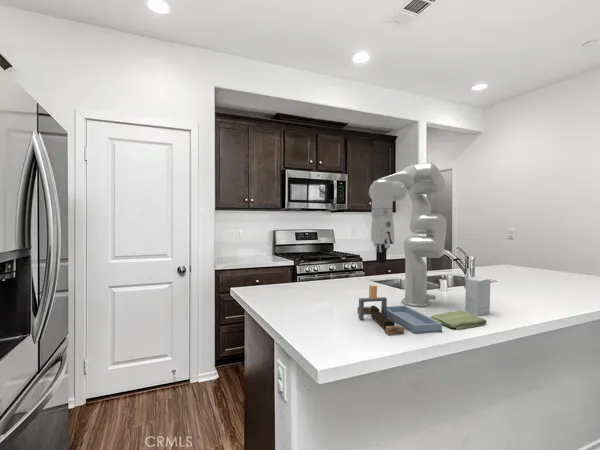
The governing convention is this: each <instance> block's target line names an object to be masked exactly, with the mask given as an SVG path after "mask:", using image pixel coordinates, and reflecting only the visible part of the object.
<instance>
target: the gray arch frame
mask: <svg viewBox="0 0 600 450" xmlns="http://www.w3.org/2000/svg"><path fill="white" fill-rule="evenodd" d="M387 301H388V298H387V297H385V296H382V297H380V296H379V297H378V286H377V285H376V284H371V285H368V297H360V298H358V307H359V314H358V319H359V320H364V317H365V316H364V315H365V314H364V307H365V304H364V303H368V302H373V303H374V302H381V307H382V308H381V307H380V312H381V313H382V314H383V315H384V316H386V317H387V306H388V302H387Z"/></svg>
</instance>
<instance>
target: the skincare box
mask: <svg viewBox="0 0 600 450" xmlns="http://www.w3.org/2000/svg"><path fill="white" fill-rule="evenodd" d="M464 301H465V307H464V312H467V313H469V314H471V315H475V316H477V317H480V316H482V315H483V316H484V315H487V314H490V310H491V308H490V306H491V305H490V303H491V279H490V278H487V277H481V276H475V277H474V276H473V277H470V278H469V277H468V278H465V300H464Z"/></svg>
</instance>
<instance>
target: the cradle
mask: <svg viewBox="0 0 600 450" xmlns="http://www.w3.org/2000/svg"><path fill="white" fill-rule="evenodd" d="M357 314H358V315H359V306H358V307H357ZM364 315H371V306H364ZM384 332H385V334H386V335H387V336H394V335H405V328H404V327H403V326H402V325H399V324H398V325H395V326H385V330H384Z"/></svg>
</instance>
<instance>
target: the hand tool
mask: <svg viewBox="0 0 600 450" xmlns="http://www.w3.org/2000/svg"><path fill="white" fill-rule="evenodd" d="M370 307H371V314H370V316H371V318H372V320H375V321H376V322H377V323H378V324H379V325H380V326H382V327H383V330H384V331H385V326H396V325H395V323H396V322H394V321H393V320H391V319H389V318H388V317H386V316H384V315H383V314H382V313H381V310H380V309H379V308H378V307H377V306H375V305H372V306H370Z"/></svg>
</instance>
